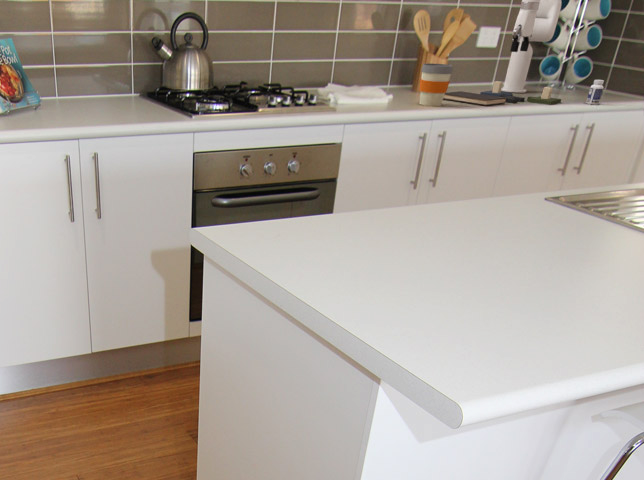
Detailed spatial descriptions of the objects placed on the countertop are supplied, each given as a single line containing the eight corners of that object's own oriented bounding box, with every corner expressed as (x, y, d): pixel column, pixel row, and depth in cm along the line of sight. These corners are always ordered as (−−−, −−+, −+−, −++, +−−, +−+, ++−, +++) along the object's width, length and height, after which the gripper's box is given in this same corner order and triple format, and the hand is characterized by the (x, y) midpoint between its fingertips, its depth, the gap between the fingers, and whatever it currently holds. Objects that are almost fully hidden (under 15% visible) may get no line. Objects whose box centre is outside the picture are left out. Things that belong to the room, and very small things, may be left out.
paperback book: (485, 105, 310) (487, 99, 309) (440, 98, 324) (441, 93, 323) (505, 103, 319) (506, 97, 317) (460, 96, 333) (461, 91, 332)
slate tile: (490, 93, 348) (494, 79, 345) (516, 97, 341) (519, 82, 338) (479, 95, 341) (482, 81, 338) (505, 98, 334) (508, 84, 331)
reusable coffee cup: (451, 106, 305) (459, 66, 297) (425, 106, 302) (433, 66, 294) (434, 102, 315) (442, 63, 307) (409, 102, 312) (416, 63, 304)
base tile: (503, 98, 335) (503, 95, 334) (524, 101, 329) (525, 97, 328) (491, 100, 327) (492, 96, 326) (512, 103, 321) (513, 99, 321)
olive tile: (533, 99, 337) (537, 84, 333) (560, 102, 329) (564, 88, 326) (522, 101, 329) (526, 86, 326) (550, 104, 322) (554, 89, 319)
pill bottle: (600, 104, 330) (607, 80, 324) (596, 105, 326) (603, 81, 321) (587, 102, 333) (595, 79, 327) (583, 103, 329) (591, 79, 324)
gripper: (529, 6, 324) (519, 50, 334) (512, 6, 314) (501, 51, 323) (546, 7, 320) (535, 51, 329) (529, 7, 309) (517, 52, 319)
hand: (518, 51), depth 326 cm, fingers open, 9 cm apart
